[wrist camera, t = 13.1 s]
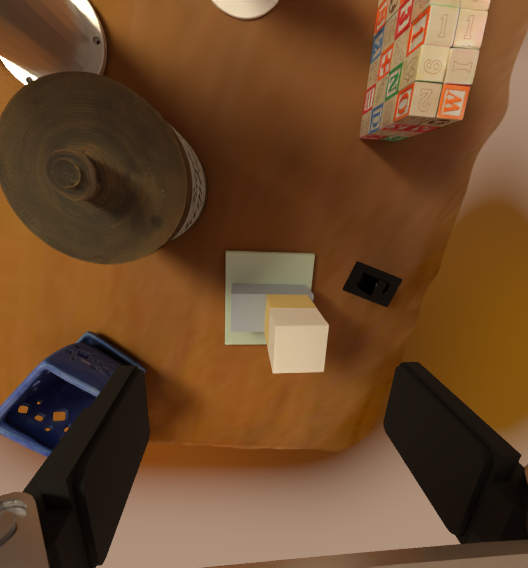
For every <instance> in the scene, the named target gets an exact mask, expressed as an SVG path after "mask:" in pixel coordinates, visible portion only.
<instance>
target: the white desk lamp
mask: <svg viewBox="0 0 528 568" xmlns="http://www.w3.org/2000/svg"><path fill="white" fill-rule="evenodd" d="M211 1H212V2H213V4H214V5H215V6H216V7H217V8H218V9H220V10H221V11H222V12H224V13H225V14H227V15H229V16H231V17H234V18H237V19H243V20H248V19H255V18H258V17H261V16H263V15H265V14H266V13H268V12H269V11H270V10H271V9H272V8H273V7H274V6H275V5H276V4H277V3H278V1H279V0H211Z"/></svg>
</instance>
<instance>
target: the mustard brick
mask: <svg viewBox="0 0 528 568" xmlns="http://www.w3.org/2000/svg"><path fill="white" fill-rule="evenodd" d="M270 308H316V306H315V305H314V303H313V302H312V301H311V299H310V298H309V297H308V295H282V294H266V310H265V328H264V333H265V338H266V343H267V348H268V340H269V317H270Z"/></svg>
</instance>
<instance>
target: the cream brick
mask: <svg viewBox="0 0 528 568" xmlns="http://www.w3.org/2000/svg"><path fill="white" fill-rule="evenodd" d="M328 330H329V325H328V323H327V322H326V320H325V319H324V318H323V316H322V315H321V314H320V312H319V311H318V309H317V308H270V317H269V340H268V352H269V357H270V362H271V367H272V372H273V373H299V372H324V364H325V355H326V347H327V338H328Z"/></svg>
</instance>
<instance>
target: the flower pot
mask: <svg viewBox="0 0 528 568" xmlns="http://www.w3.org/2000/svg"><path fill="white" fill-rule="evenodd" d="M134 365H137V366H138V368H139V370H143V371H144V374H145V372H146V369H145V368H144V367H143V366H142V365H141V364H139V363H138V362H136V361H135V360H133V359H132V358H130V357H129V356H128V355H126V354H125V353H123V352H122V351H120V350H119V349H117V348H116V347H114V346H113V345H111V344H110V343H108V342H107V341H105V340H104V339H102V338H101V337H99V336H98V335H96V334H95V333H93V332H90V331H88V332H86V333H84V334H83V335H82V337H81V338H80V339H79V340H78V341H77V342H76V343H75V344H71V345H68V346H66V347H64V348H62V349H60V350H58V351H56V352H54V353H53V354H51V355H50V356H48V357H47V358H46V359H44V360H43V361H42V362H41V363H40V364H39V365H38V366H37V367H36V368H35V369H34V370H33V371H32V372H31V373H30V374H29V375H28V377H27V378H26V379H25V380H24V381H23V382H22V383H21V384H20V385H19V386H18V387H17V389H16V390H15V391H14V392H13V393H12V394H11V395H10V396H9V397H8V398H7V399H6V401H5V402H4V403H3V404H2V405H1V406H0V434H1V435H3V436H5V437H7V438H9V439H11V440H13V441H15V442H17V443H19V444H21V445H23V446H25V447H27V448H29V449H31V450H33V451H35V452H38V453H40V454H42V455H44V456H46V457H48V456H49V455H50V454H51V452H52V451H53V449H54V448H55V447H56V445H57V444H58V443H59V441H60V440H61V439H62V437H63V436H64V434H65V433H66V432H64V429H65V428H66V427H68V428H70V426H71V425H72V423H73V422H74V421H75V419H76V418H77V417H78V415H79V414H80V413H81V411H82V410H83V409H85V408H87V407H90V406H91V405H92V403H93V402H94V400H95V399H96V397H97V396H98V395H99V393H100V392H101V390H102V389H103V387H104V386H105V385H106V383H107V382H108V380H109V379H110V378H111V376H112V375H113V373H114V372H115V370H116V369H117V368H118V367H119V366H134ZM37 402H40V403H41V404H39V405H38V404H37ZM20 406H27V407H28V411H27V413H19V412H18V408H19V407H20ZM53 412H65V413H66V414H65V420H64V421H53ZM37 415H40V416H42V417H43V420H42V421H38V420H35V419H34V418H35V416H37ZM45 428H50V431H46V430H45ZM60 438H61V439H60Z"/></svg>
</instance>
